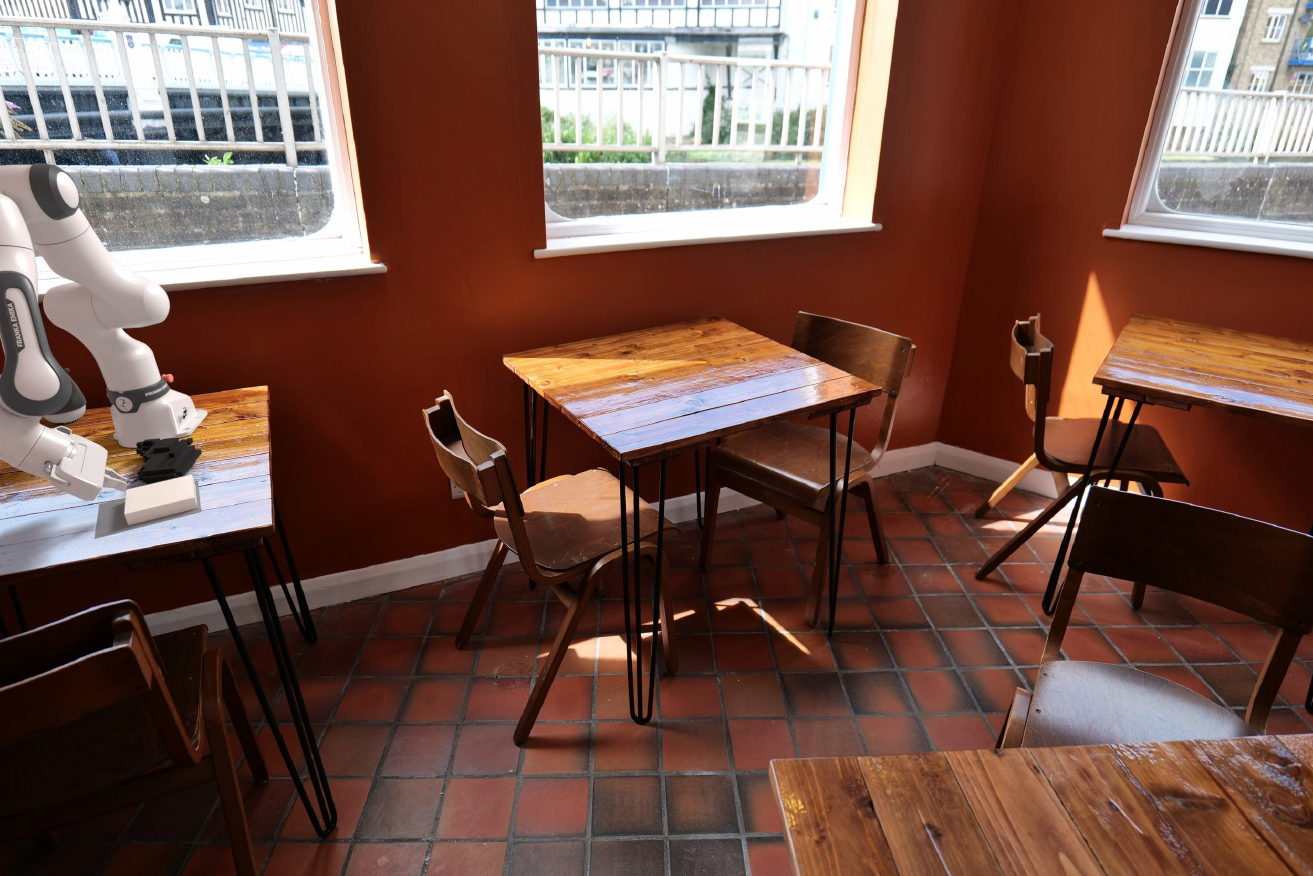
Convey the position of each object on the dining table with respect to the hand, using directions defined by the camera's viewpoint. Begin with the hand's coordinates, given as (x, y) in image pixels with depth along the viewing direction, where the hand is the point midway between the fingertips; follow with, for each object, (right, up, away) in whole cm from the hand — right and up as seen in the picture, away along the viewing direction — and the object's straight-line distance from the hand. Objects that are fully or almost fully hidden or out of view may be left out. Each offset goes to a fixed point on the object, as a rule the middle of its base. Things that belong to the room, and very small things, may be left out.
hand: (126, 485), depth 151 cm
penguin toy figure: (-50, +14, +49) cm, 72 cm away
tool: (-5, +2, +20) cm, 21 cm away
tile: (-1, -4, +1) cm, 5 cm away
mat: (+2, -5, +4) cm, 7 cm away
